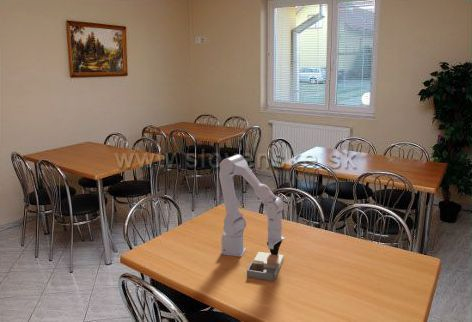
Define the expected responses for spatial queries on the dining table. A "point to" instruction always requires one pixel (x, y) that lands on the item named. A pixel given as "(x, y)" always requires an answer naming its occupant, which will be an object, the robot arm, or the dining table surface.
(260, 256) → the white board
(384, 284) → the dining table surface
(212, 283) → the dining table surface
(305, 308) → the dining table surface
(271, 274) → the grey box
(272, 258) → the terracotta tile
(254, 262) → the walnut block
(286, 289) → the dining table surface
